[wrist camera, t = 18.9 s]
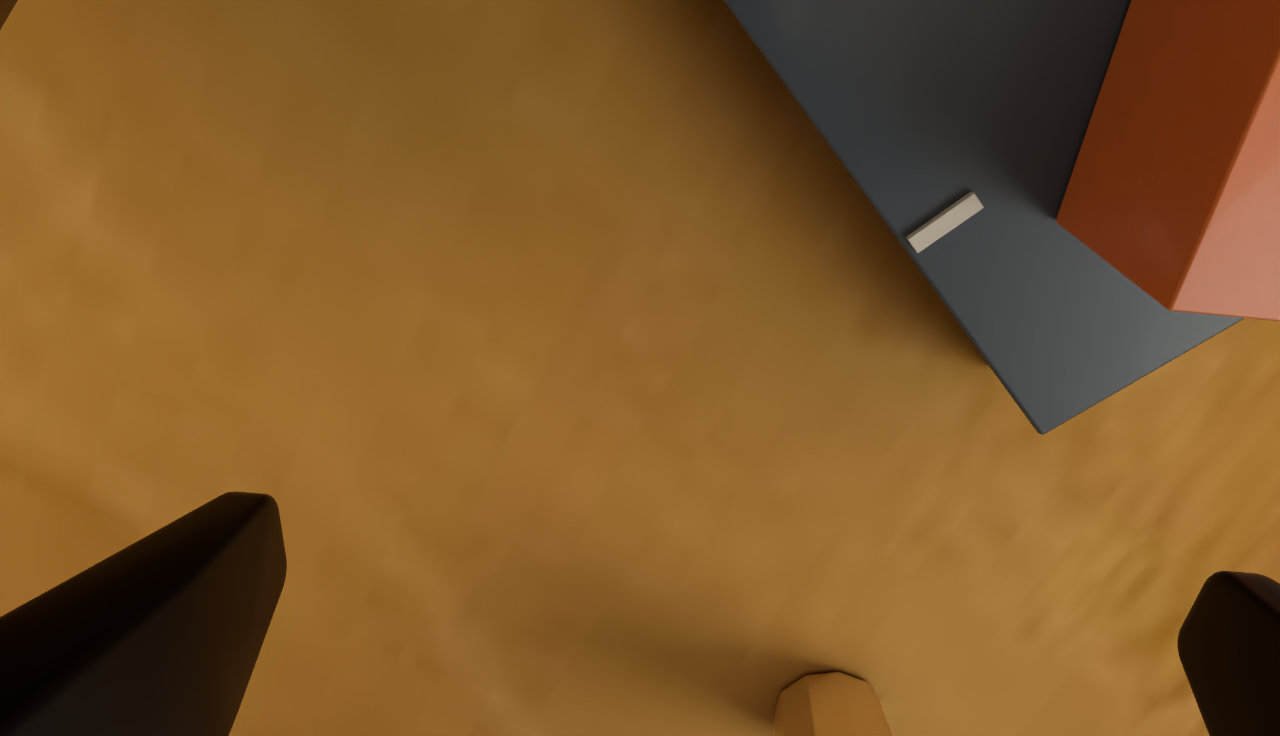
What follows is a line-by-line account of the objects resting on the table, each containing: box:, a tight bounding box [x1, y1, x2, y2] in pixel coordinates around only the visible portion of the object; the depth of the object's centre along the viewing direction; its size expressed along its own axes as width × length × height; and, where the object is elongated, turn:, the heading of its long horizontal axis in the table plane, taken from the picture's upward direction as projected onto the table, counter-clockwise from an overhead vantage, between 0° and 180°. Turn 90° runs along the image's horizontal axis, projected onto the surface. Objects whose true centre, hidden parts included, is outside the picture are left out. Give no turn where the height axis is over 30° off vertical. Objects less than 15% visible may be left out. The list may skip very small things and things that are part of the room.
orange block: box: [1056, 0, 1280, 321], centre depth 12 cm, size 6×2×4 cm, turn 175°
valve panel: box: [723, 0, 1244, 435], centre depth 15 cm, size 13×10×3 cm
